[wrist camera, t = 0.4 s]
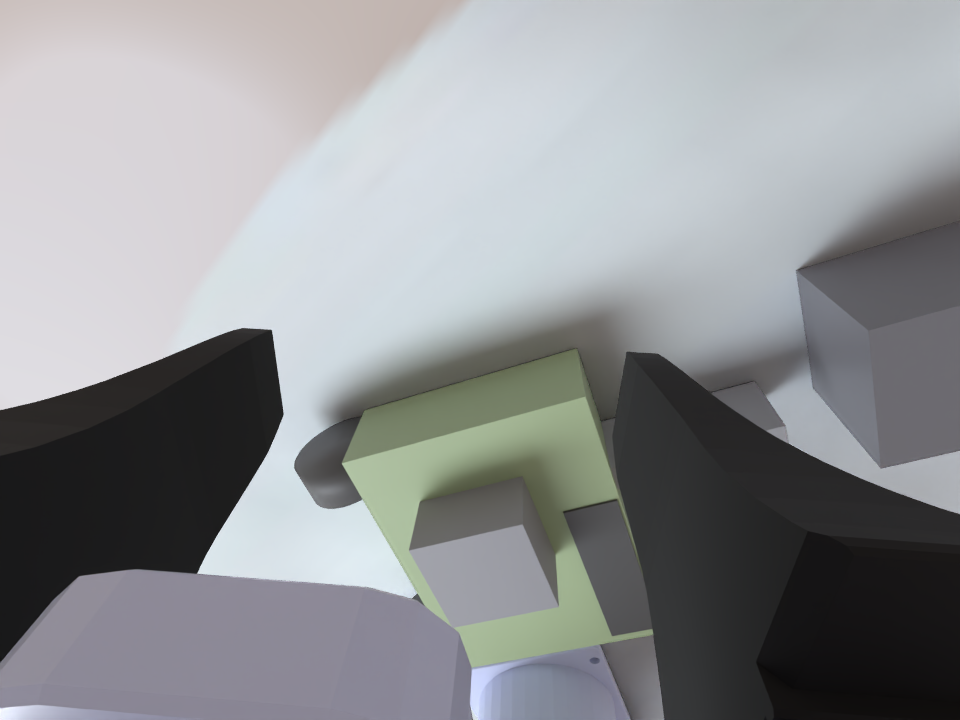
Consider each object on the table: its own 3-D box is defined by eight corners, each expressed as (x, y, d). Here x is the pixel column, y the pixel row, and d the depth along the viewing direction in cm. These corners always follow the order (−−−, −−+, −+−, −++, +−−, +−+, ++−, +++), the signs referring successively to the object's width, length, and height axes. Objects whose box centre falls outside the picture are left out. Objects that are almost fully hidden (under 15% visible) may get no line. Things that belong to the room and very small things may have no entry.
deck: (785, 547, 27) (849, 670, 21) (424, 620, 30) (403, 739, 25) (740, 300, 21) (810, 384, 16) (309, 426, 25) (253, 527, 20)
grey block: (1017, 332, 21) (1146, 408, 17) (811, 386, 23) (880, 468, 18) (1021, 200, 19) (1170, 247, 15) (794, 269, 21) (868, 330, 16)
